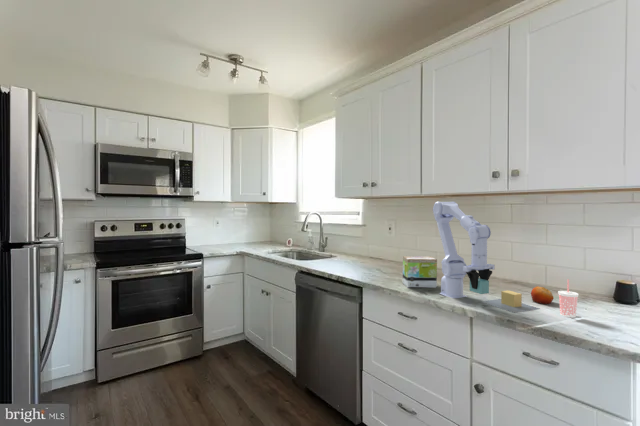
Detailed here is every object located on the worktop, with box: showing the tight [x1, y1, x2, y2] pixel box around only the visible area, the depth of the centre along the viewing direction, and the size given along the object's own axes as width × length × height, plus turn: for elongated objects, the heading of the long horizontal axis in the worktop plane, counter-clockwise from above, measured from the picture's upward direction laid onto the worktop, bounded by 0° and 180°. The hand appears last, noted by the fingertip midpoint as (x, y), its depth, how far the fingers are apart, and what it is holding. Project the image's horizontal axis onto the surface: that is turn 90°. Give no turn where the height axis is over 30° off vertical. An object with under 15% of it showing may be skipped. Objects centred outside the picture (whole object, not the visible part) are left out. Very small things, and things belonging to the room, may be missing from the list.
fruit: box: [530, 285, 554, 305], centre depth 140 cm, size 8×8×8 cm
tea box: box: [402, 255, 438, 289], centre depth 172 cm, size 15×10×15 cm, turn 91°
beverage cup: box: [557, 278, 579, 320], centre depth 123 cm, size 6×6×14 cm
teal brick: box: [469, 277, 490, 295], centre depth 135 cm, size 6×4×5 cm, turn 20°
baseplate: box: [480, 298, 541, 314], centre depth 136 cm, size 16×14×1 cm
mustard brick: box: [500, 289, 523, 307], centre depth 136 cm, size 6×4×5 cm, turn 20°
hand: (478, 288), depth 135 cm, fingers closed on teal brick, 4 cm apart
